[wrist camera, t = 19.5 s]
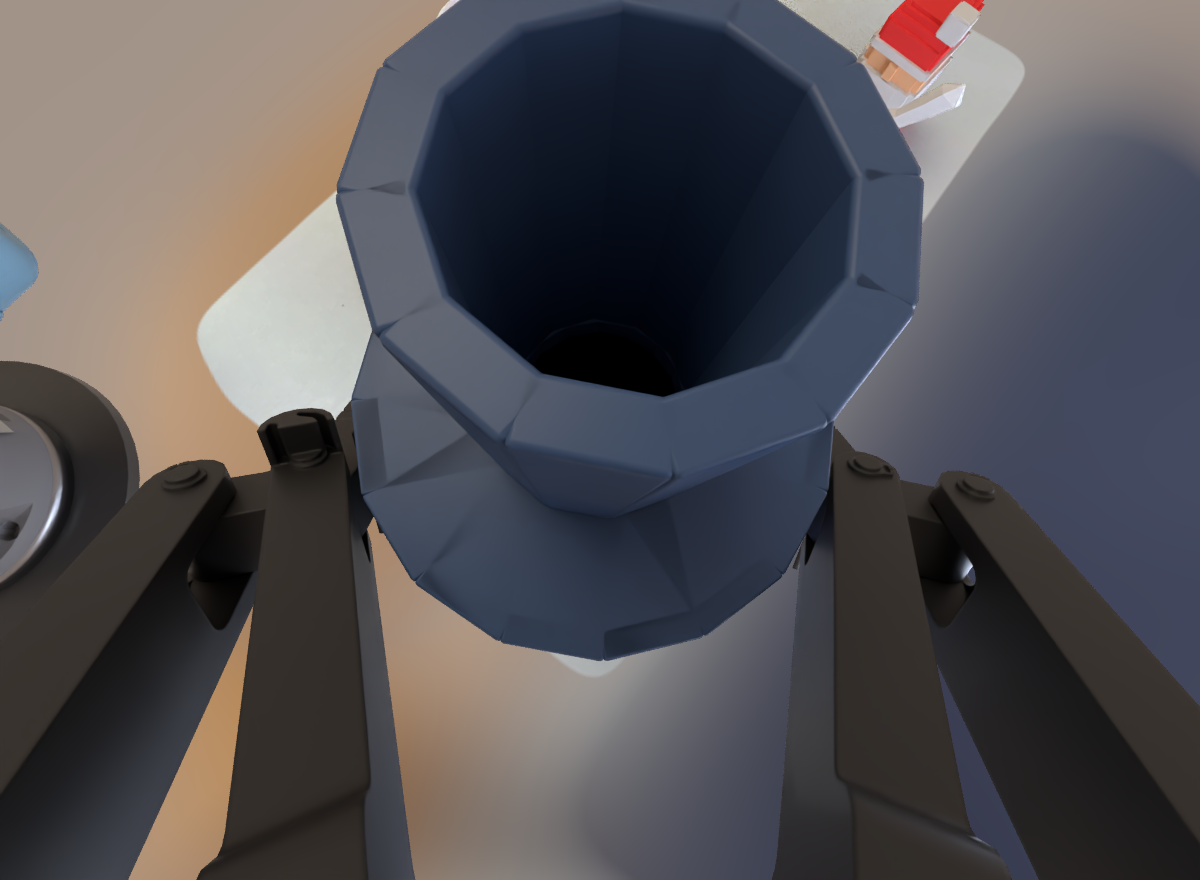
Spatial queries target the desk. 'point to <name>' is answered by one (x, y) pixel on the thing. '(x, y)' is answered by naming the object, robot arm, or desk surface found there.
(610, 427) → the blue bottle
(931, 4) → the figurine
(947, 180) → the desk surface
